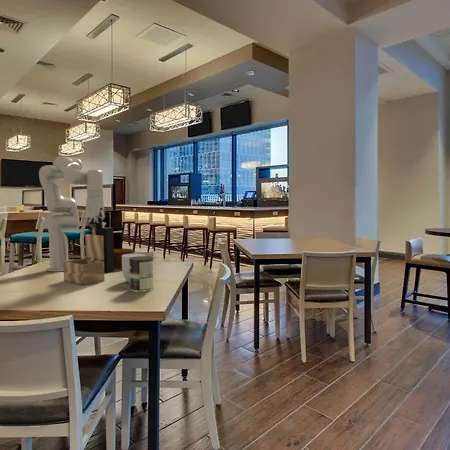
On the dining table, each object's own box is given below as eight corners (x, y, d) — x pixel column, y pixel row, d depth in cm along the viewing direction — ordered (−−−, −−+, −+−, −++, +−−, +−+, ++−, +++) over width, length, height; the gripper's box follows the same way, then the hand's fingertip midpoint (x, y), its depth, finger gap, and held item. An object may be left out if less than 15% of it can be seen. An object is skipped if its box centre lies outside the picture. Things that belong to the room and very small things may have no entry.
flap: (83, 223, 183) (86, 223, 184) (84, 257, 184) (88, 257, 185) (100, 224, 174) (104, 224, 175) (101, 260, 175) (105, 259, 176)
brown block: (140, 266, 218) (140, 249, 218) (117, 270, 204) (117, 253, 203) (120, 263, 228) (120, 247, 227) (97, 267, 213) (97, 250, 212)
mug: (150, 277, 184) (149, 252, 183) (155, 282, 174) (155, 255, 173) (120, 280, 177) (119, 254, 176) (124, 285, 167) (123, 257, 166)
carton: (64, 280, 176) (63, 261, 175) (86, 277, 185) (85, 258, 185) (81, 285, 166) (81, 264, 166) (104, 281, 176) (104, 261, 175)
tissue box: (107, 273, 195) (106, 222, 193) (93, 272, 196) (92, 222, 195) (114, 270, 203) (113, 221, 201) (101, 270, 204) (100, 221, 203)
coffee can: (127, 292, 153) (127, 259, 152) (131, 286, 163) (131, 256, 163) (151, 291, 154) (151, 259, 153) (154, 286, 164) (154, 256, 163)
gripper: (78, 194, 181) (79, 230, 182) (98, 194, 171) (98, 232, 172) (92, 195, 187) (93, 229, 188) (111, 194, 177) (112, 231, 178)
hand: (95, 230), depth 180 cm, fingers closed on flap, 5 cm apart
